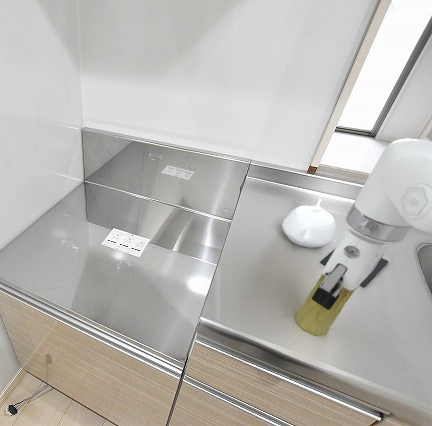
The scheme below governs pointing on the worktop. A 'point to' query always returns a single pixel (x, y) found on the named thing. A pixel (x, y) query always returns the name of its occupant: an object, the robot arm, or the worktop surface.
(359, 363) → the worktop surface
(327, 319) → the vase
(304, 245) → the white garlic bulb
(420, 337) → the worktop surface
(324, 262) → the mat
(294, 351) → the worktop surface
